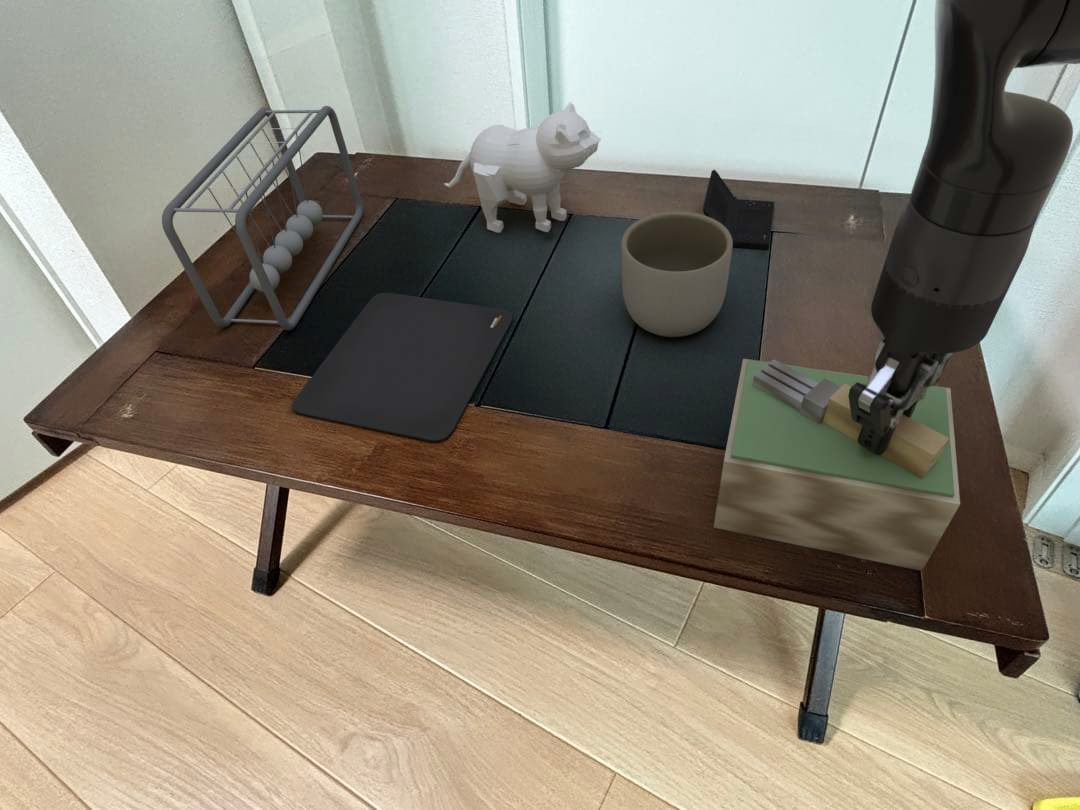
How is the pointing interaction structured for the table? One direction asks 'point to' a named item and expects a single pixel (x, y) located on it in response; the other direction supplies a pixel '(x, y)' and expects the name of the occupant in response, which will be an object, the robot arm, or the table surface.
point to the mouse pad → (406, 366)
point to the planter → (675, 271)
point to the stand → (832, 507)
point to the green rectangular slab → (832, 437)
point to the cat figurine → (528, 164)
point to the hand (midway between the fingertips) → (880, 437)
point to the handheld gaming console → (739, 215)
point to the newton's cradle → (296, 226)
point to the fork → (831, 405)
